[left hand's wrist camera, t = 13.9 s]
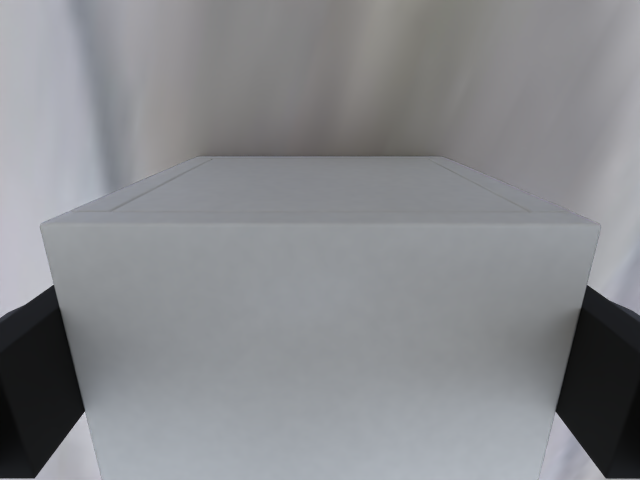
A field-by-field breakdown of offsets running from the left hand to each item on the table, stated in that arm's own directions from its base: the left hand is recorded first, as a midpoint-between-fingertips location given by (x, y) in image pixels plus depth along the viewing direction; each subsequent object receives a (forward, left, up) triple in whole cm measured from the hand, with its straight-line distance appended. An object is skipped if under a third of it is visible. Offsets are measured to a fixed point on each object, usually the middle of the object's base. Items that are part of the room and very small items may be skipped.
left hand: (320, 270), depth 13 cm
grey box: (0, +6, -5) cm, 8 cm away
